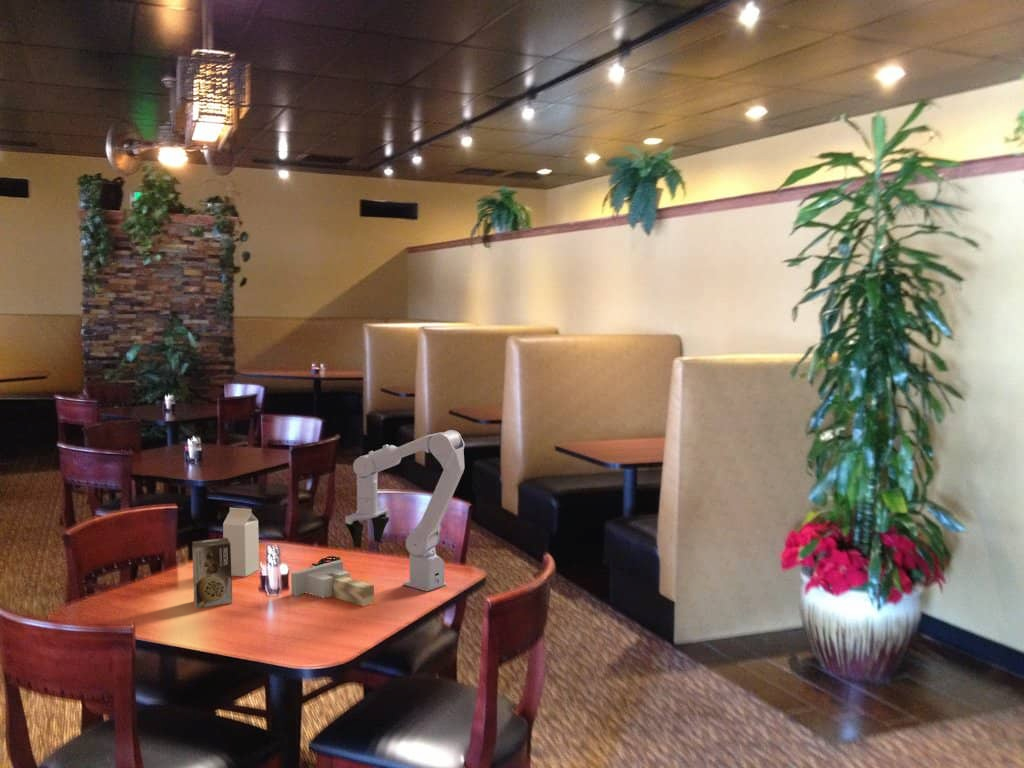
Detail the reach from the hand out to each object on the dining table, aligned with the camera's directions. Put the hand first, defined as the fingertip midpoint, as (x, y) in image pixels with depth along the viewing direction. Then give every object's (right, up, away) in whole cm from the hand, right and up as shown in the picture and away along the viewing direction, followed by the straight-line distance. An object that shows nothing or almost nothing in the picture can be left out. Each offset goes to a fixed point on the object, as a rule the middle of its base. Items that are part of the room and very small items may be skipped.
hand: (367, 544), depth 250 cm
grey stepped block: (-9, -11, -11) cm, 18 cm away
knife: (-16, -10, +9) cm, 20 cm away
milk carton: (-37, -10, +5) cm, 39 cm away
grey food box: (-37, -12, -21) cm, 44 cm away
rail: (-2, -12, -17) cm, 21 cm away
